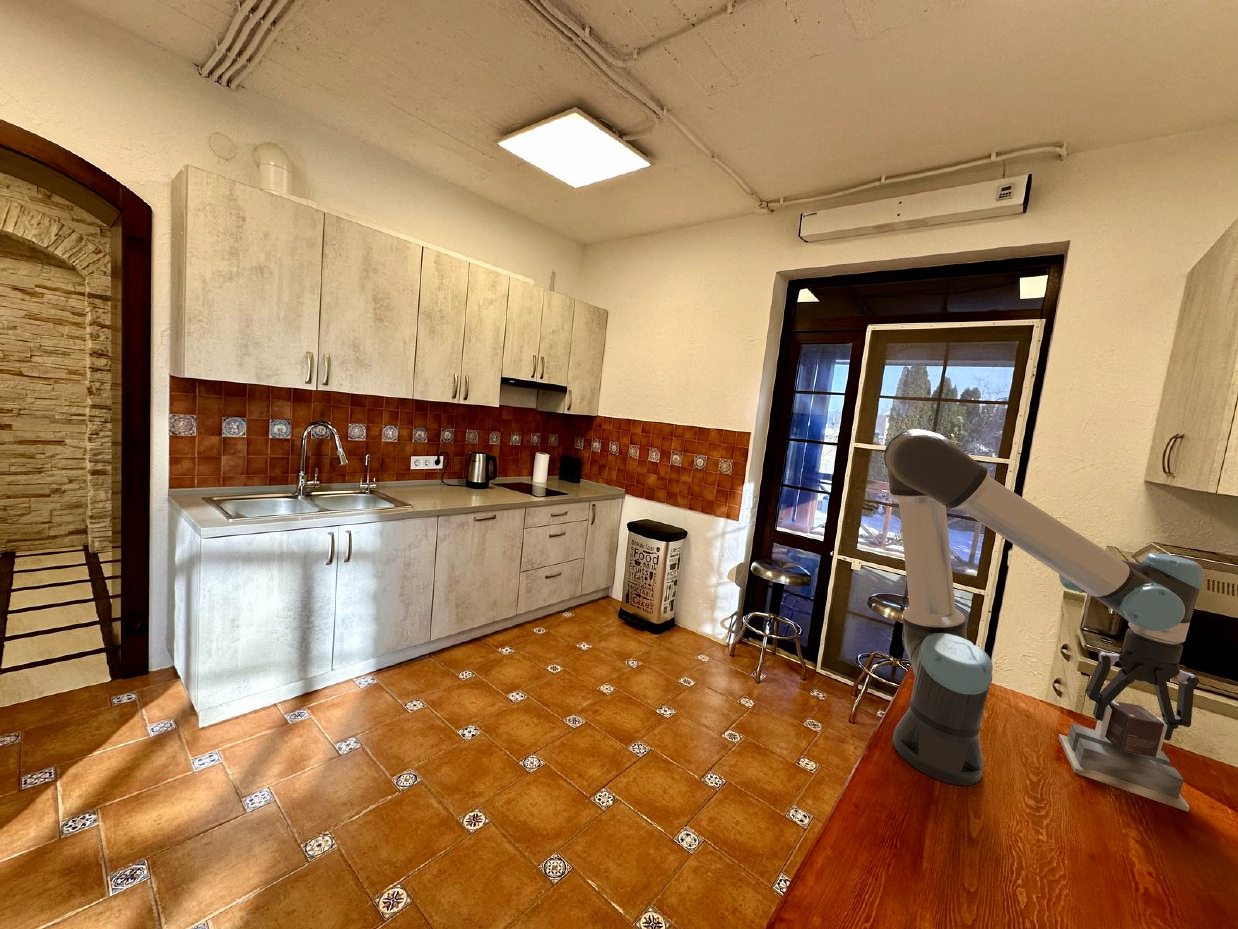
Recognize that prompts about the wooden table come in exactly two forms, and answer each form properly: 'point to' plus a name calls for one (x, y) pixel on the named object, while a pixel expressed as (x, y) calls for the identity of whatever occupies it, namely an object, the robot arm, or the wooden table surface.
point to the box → (1134, 729)
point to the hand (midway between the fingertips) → (1125, 743)
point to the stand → (1123, 767)
